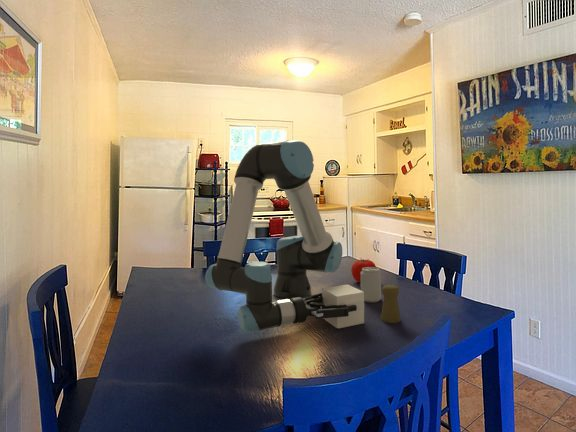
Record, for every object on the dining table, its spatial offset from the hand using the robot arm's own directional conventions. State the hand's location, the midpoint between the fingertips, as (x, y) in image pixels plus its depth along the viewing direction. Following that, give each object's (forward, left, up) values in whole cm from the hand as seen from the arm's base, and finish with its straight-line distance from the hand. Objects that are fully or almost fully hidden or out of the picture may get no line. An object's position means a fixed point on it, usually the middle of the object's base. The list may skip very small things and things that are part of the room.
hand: (354, 300), depth 117 cm
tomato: (-35, +28, -6) cm, 45 cm away
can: (-13, +16, -6) cm, 21 cm away
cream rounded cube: (0, -4, -6) cm, 7 cm away
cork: (+6, +10, -6) cm, 13 cm away
